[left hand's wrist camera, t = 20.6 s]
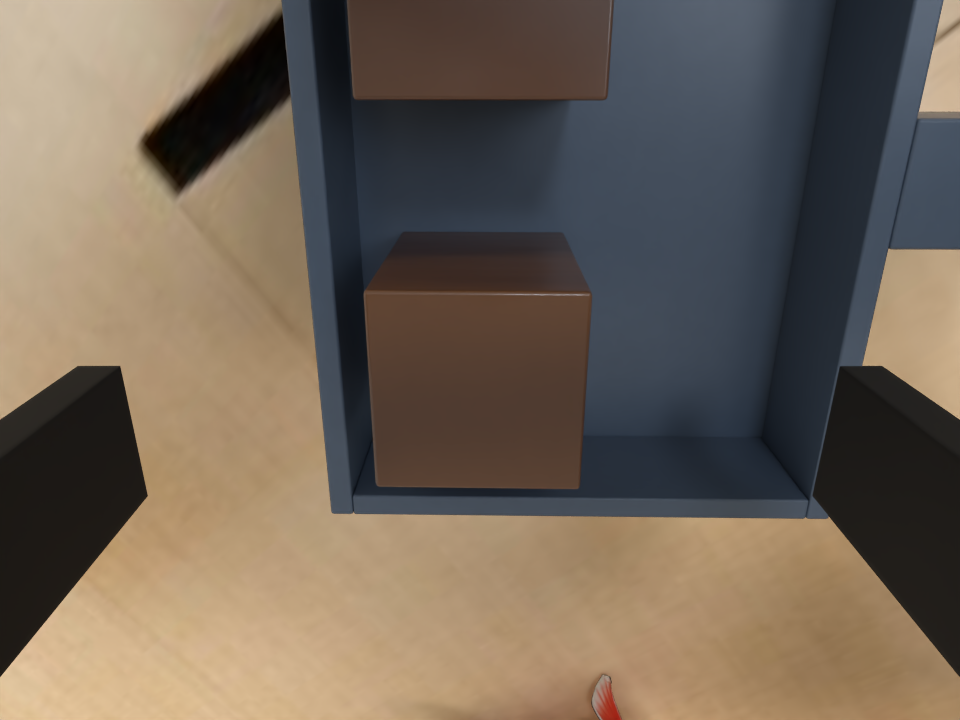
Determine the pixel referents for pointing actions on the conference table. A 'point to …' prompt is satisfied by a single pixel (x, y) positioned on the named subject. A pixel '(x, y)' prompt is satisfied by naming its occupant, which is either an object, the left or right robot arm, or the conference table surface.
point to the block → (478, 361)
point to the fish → (605, 700)
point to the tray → (648, 236)
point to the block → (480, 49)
